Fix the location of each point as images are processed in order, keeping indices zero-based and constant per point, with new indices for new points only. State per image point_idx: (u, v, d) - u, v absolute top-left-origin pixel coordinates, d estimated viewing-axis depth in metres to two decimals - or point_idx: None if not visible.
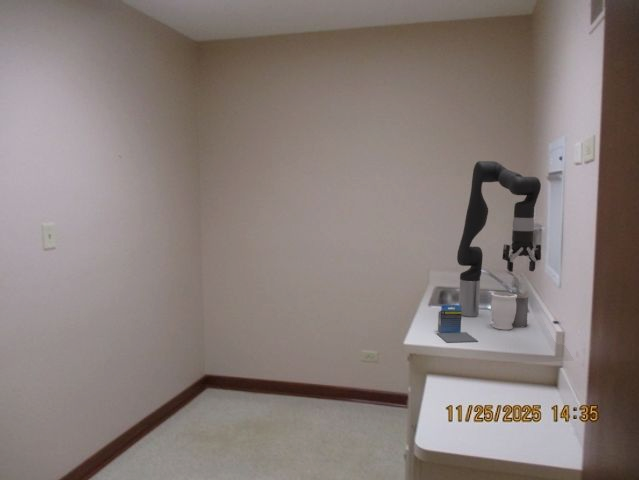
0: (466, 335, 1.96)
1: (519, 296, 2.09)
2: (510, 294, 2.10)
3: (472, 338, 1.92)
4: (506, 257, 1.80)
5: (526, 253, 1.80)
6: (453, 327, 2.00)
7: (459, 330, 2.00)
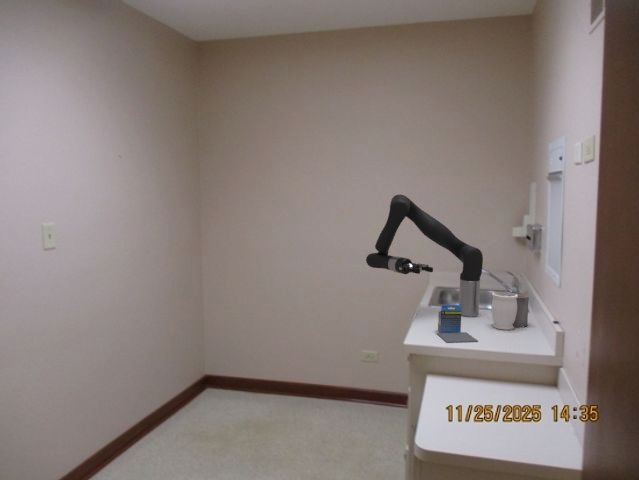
0: (466, 335, 1.96)
1: (520, 296, 2.09)
2: (511, 294, 2.10)
3: (472, 338, 1.92)
4: None
5: None
6: (453, 327, 2.00)
7: (459, 330, 2.00)
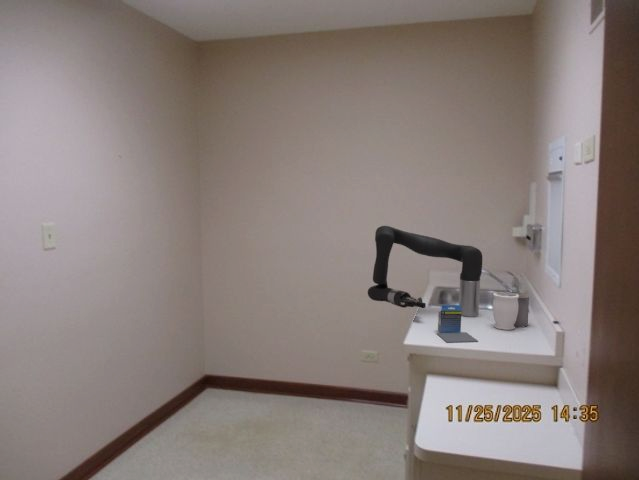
0: (466, 335, 1.96)
1: (520, 296, 2.09)
2: (511, 294, 2.10)
3: (472, 338, 1.92)
4: None
5: None
6: (453, 327, 2.00)
7: (459, 330, 2.00)
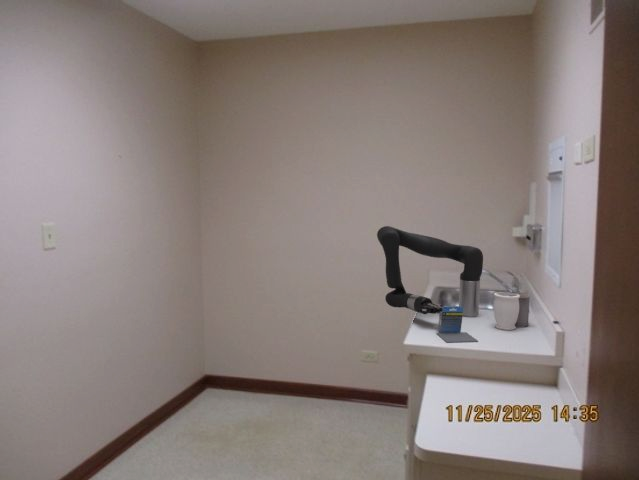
0: (466, 335, 1.96)
1: (521, 296, 2.09)
2: (512, 294, 2.10)
3: (472, 338, 1.92)
4: None
5: None
6: (454, 327, 1.99)
7: (459, 330, 2.00)
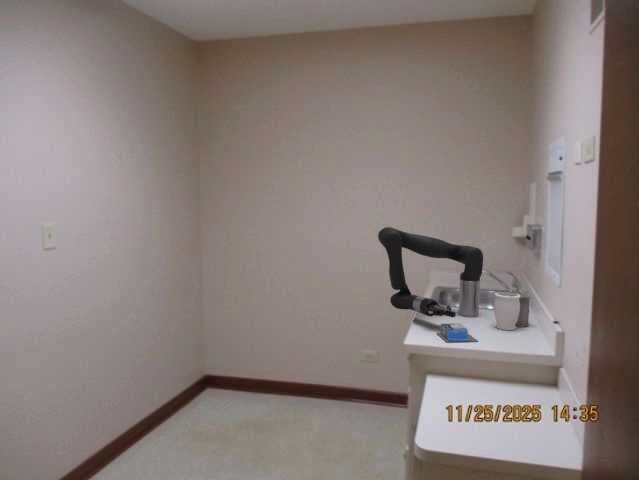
0: None
1: (521, 296, 2.09)
2: (512, 294, 2.10)
3: (472, 338, 1.92)
4: None
5: None
6: None
7: None
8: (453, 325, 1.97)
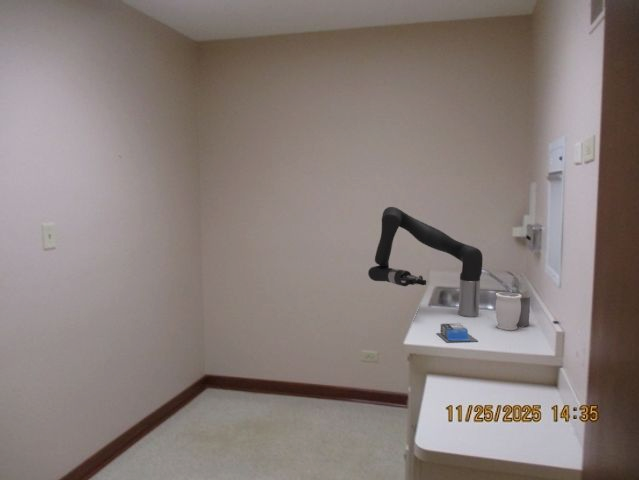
0: None
1: (522, 296, 2.09)
2: (513, 294, 2.10)
3: (472, 338, 1.92)
4: None
5: None
6: None
7: None
8: (453, 325, 1.97)
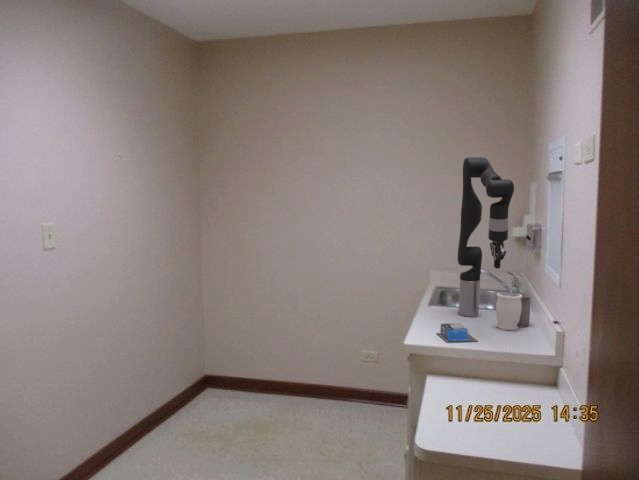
0: None
1: (522, 296, 2.10)
2: (514, 294, 2.10)
3: (472, 338, 1.92)
4: (492, 253, 2.00)
5: None
6: None
7: None
8: (453, 325, 1.97)
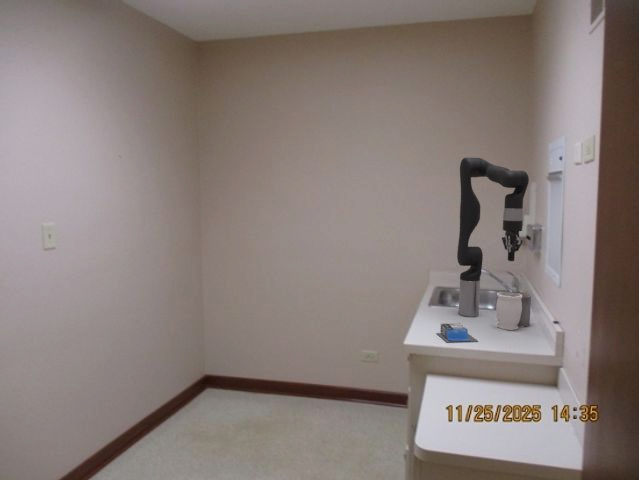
0: None
1: (523, 296, 2.10)
2: (514, 294, 2.10)
3: (472, 338, 1.92)
4: (505, 247, 2.00)
5: (509, 240, 1.96)
6: None
7: None
8: (453, 325, 1.97)
